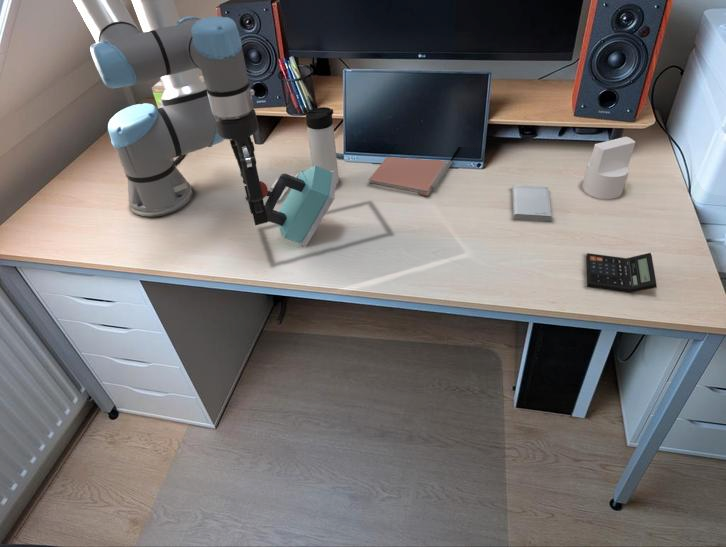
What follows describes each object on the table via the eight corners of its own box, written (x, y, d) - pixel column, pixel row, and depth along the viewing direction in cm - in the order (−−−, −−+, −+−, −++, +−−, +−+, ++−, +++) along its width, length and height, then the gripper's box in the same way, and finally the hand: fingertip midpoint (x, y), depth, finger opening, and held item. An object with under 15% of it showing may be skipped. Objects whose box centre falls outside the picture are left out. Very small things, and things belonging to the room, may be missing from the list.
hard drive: (552, 216, 115) (548, 185, 124) (514, 213, 116) (512, 184, 125) (550, 222, 116) (547, 191, 125) (513, 219, 117) (512, 189, 126)
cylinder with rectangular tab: (598, 202, 120) (611, 156, 112) (574, 183, 127) (585, 138, 119) (630, 194, 122) (646, 147, 114) (605, 175, 129) (618, 130, 121)
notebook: (431, 197, 126) (432, 190, 125) (368, 185, 132) (368, 178, 130) (464, 146, 144) (464, 140, 143) (407, 137, 150) (407, 131, 148)
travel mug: (337, 192, 130) (329, 116, 117) (312, 190, 132) (301, 115, 118) (343, 179, 135) (335, 105, 122) (318, 177, 136) (309, 104, 123)
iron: (331, 162, 113) (267, 134, 104) (344, 182, 106) (276, 154, 98) (295, 224, 120) (232, 203, 111) (305, 247, 113) (239, 226, 105)
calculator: (586, 256, 106) (589, 244, 104) (648, 264, 104) (652, 252, 102) (587, 286, 100) (590, 275, 98) (653, 296, 97) (658, 284, 95)
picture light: (279, 202, 128) (278, 195, 127) (263, 200, 129) (262, 193, 128) (300, 173, 138) (299, 166, 137) (285, 172, 139) (284, 165, 138)
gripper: (263, 126, 89) (285, 234, 105) (246, 91, 101) (268, 193, 117) (220, 135, 88) (249, 244, 103) (207, 99, 100) (235, 201, 115)
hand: (259, 216), depth 110 cm, fingers closed on iron, 4 cm apart
